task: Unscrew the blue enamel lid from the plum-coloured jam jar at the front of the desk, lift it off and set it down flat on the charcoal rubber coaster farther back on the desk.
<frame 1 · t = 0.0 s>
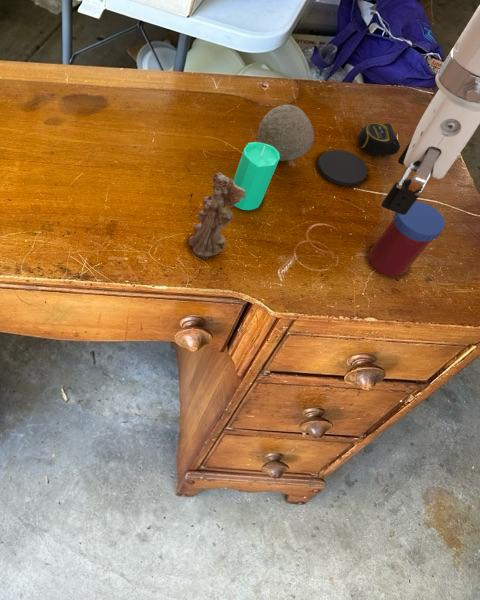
hand: (401, 186, 77), 20 cm above the table, tool pointing down, fingers open, 9 cm apart
coaster: (341, 169, 108), on the table
jam jar: (387, 261, 96), on the table
candle: (244, 198, 103), on the table
decorative stone: (275, 156, 110), on the table
jam lid: (420, 219, 87), point 10 cm above the table, screwed on, not yet turned
figurine: (203, 245, 97), on the table
tape measure: (375, 147, 112), on the table
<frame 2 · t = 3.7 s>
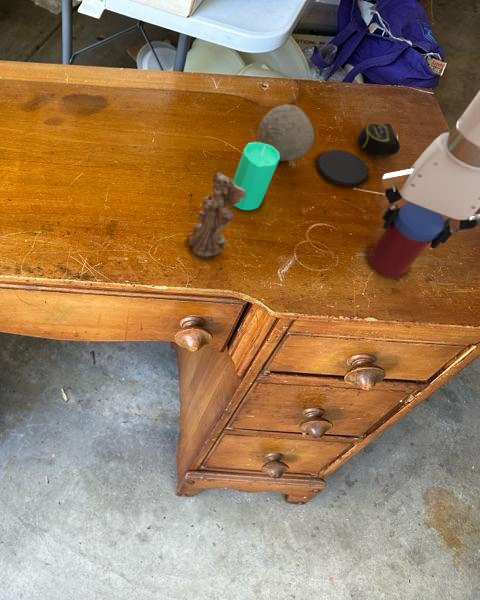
hand: (410, 232, 89), 7 cm above the table, tool pointing down, fingers closed on jam lid, 6 cm apart
jam lid: (420, 219, 87), point 10 cm above the table, screwed on, not yet turned, touching gripper
everything else where it was.
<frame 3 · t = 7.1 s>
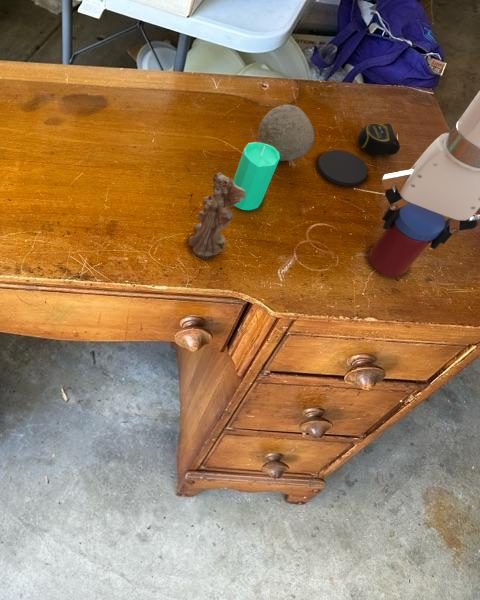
hand: (410, 232, 90), 7 cm above the table, tool pointing down, fingers closed on jam lid, 6 cm apart
jam lid: (421, 218, 87), point 11 cm above the table, turned 97° so far, risen 0.1 cm, still on its thread, touching gripper
everything else where it was.
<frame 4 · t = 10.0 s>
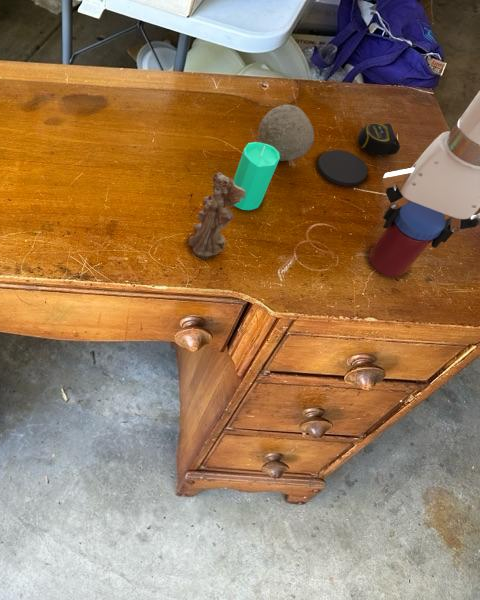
hand: (411, 231, 89), 8 cm above the table, tool pointing down, fingers closed on jam lid, 6 cm apart
jam lid: (421, 218, 87), point 11 cm above the table, turned 192° so far, risen 0.3 cm, still on its thread, touching gripper
everything else where it was.
when the fingers open (2 cm above the table, at t = 22.5 s): jam lid drops 3 cm, resting on coaster.
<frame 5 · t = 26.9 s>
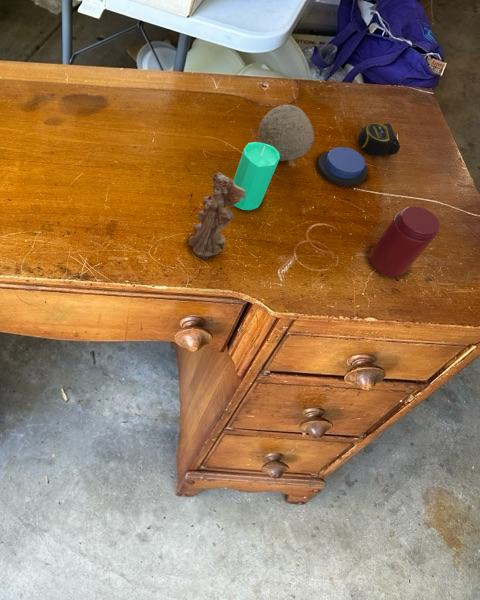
jam lid: (345, 160, 106), point 2 cm above the table, off its thread, touching coaster
everything else where it was.
at the end: jam lid came off its thread; jam lid inside the target area on the coaster (0.1 cm from its centre), point 2.1 cm above the coaster's base; the gripper is holding nothing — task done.
